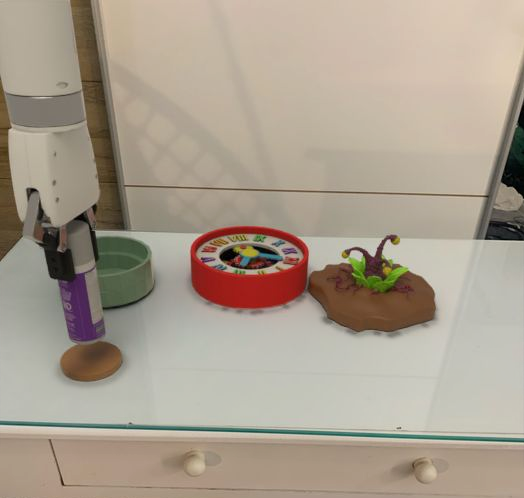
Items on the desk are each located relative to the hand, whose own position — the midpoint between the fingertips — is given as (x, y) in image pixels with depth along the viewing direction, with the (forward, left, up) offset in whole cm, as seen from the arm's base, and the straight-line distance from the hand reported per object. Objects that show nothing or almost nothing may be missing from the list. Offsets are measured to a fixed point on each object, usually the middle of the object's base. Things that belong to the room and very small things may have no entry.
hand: (75, 267), depth 67 cm
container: (0, 0, -10) cm, 10 cm away
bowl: (-8, +20, -14) cm, 26 cm away
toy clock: (+14, +30, -15) cm, 36 cm away
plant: (+35, +30, -15) cm, 49 cm away
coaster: (0, 0, -14) cm, 14 cm away
